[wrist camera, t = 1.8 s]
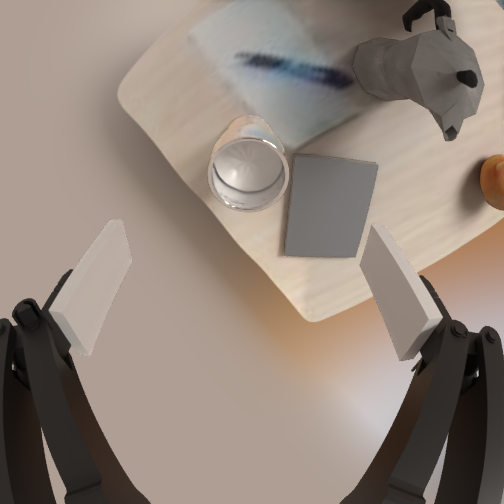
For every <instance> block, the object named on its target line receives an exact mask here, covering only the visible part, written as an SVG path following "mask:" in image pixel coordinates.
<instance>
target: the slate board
mask: <svg viewBox="0 0 504 504" xmlns="http://www.w3.org/2000/svg"><path fill="white" fill-rule="evenodd" d="M377 170H378V165H377V164H376V163H374V162H368V161H360V160H353V159H345V158H336V157H326V156H316V155H304V154H294V159H293V170H292V181H291V191H290V200H289V210H288V219H287V228H286V237H285V245H284V256H308V257H356V254H357V250H358V247H359V243H360V240H361V236H362V233H363V229H364V225H365V221H366V218H367V214H368V210H369V206H370V201H371V197H372V193H373V189H374V184H375V180H376V175H377Z"/></svg>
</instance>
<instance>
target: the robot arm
mask: <svg viewBox="0 0 504 504" xmlns="http://www.w3.org/2000/svg"><path fill="white" fill-rule="evenodd" d="M496 2H497V3H498V4H499V5H500V7H501V8H502V9H504V0H496ZM131 263H132V256H131V253H130V249H129V245H128V241H127V236H126V232H125V228H124V224H123V219H112V220H110V221H109V222H108V223H107V224H106V226H105V227H104V228H103V229H102V231H101V232H100V233H99V235H98V236H97V237H96V239H95V240H94V241H93V243H92V244H91V246H90V247H89V248H88V250H87V251H86V253H85V254H84V255H83V257H82V258H81V260H80V261H79V263H78V264H77V266H76V267H75V269H74V270H72V269H70V270H69V271H68V272H67V273H66V274H64V275H63V276H62V278H61V279H60V281H59V282H58V285H57V286H56V287H55V289H54V292H52V293H51V295H50V297H49V298H48V300H47V302H46V303H45V305H44V307H43V308H42V310H40V308H39V306H38V305H37V303H36V301H35V300H33V299H31V298H28V299H24V300H22V301H21V302H20V303H18V304H17V306H15V308H14V310H13V312H12V317H13V318H14V320H15V321H16V323H17V324H18V325H17V326H13V325H12V324H11V323H10V321H9V320H8V319H6V318H3V319H0V504H56V501H55V497H54V494H53V490H52V486H51V482H50V478H49V473H48V469H47V464H46V459H45V453H44V447H43V440H42V432H41V427H42V430H43V433H44V436H45V439H46V442H47V445H48V448H49V450H50V453H51V455H52V458H53V460H54V462H55V465H56V467H57V470H58V472H59V474H60V476H61V478H62V480H63V483H64V485H65V487H66V490H67V493H66V495H65V497H64V499H65V504H151V503H150V502H149V501H148V499H147V498H146V497H145V496H144V495H143V494H141V493H140V492H139V491H138V490H137V489H136V488H135V487H134V485H133V484H132V482H131V481H130V479H129V478H128V476H127V474H126V473H125V471H124V470H123V468H122V466H121V465H120V463H119V461H118V460H117V458H116V456H115V455H114V453H113V451H112V449H111V448H110V446H109V444H108V442H107V440H106V438H105V436H104V434H103V432H102V430H101V428H100V426H99V424H98V422H97V420H96V418H95V416H94V413H93V412H92V409H91V407H90V404H89V402H88V400H87V397H86V395H85V393H84V390H83V387H82V385H81V382H80V380H79V377H78V374H77V371H76V369H75V366H74V363H73V360H72V357H71V355H70V353H69V352H68V351H69V349H70V347H71V346H72V347H73V349H74V350H75V352H76V353H78V354H82V355H87V356H91V353H92V351H93V348H94V345H95V343H96V340H97V338H98V335H99V333H100V331H101V328H102V326H103V323H104V321H105V319H106V316H107V314H108V312H109V309H110V307H111V305H112V303H113V301H114V299H115V296H116V294H117V292H118V290H119V288H120V286H121V284H122V281H123V280H124V277H125V275H126V273H127V271H128V269H129V267H130V265H131ZM360 267H361V269H362V271H363V274H364V276H365V278H366V280H367V282H368V284H369V287H370V289H371V291H372V293H373V296H374V298H375V300H376V303H377V305H378V307H379V309H380V312H381V314H382V317H383V319H384V321H385V324H386V326H387V329H388V331H389V334H390V337H391V339H392V342H393V345H394V347H395V350H396V352H397V355H398V358H399V361H404V360H410V359H413V358H414V357H415V356H416V355H417V353H418V352H419V351H420V353H421V355H422V358H421V359H420V360H419V362H418V363H417V364H416V365H415V366H414V367H413V369H412V370H411V371H414V370H415V369H416V371H415V373H414V376H413V379H412V381H411V384H410V386H409V389H408V391H407V394H406V396H405V398H404V401H403V403H402V405H401V407H400V410H399V412H398V414H397V416H396V418H395V420H394V422H393V424H392V426H391V428H390V430H389V432H388V434H387V436H386V438H385V440H384V442H383V443H382V445H381V447H380V449H379V451H378V452H377V454H376V456H375V458H374V459H373V461H372V463H371V464H370V466H369V468H368V469H367V471H366V472H365V474H364V475H363V477H362V479H361V480H360V482H359V483H358V485H357V486H356V487H355V489H354V490H353V491H352V492H351V493H350V494H349V495H348V496H346V497H345V498H344V499H343V500H342V501H341V502H340V504H425V502H426V500H425V499H424V497H423V493H424V490H425V488H426V486H427V484H428V482H429V480H430V477H431V475H432V473H433V471H434V468H435V466H436V464H437V461H438V459H439V456H440V454H441V451H442V449H443V446H444V443H445V441H446V438H447V435H448V442H447V448H446V454H445V460H444V465H443V470H442V475H441V480H440V484H439V488H438V492H437V496H436V499H435V503H434V504H500V503H501V499H502V493H503V488H504V355H503V349H502V344H501V339H500V337H499V334H498V333H497V331H495V329H493V328H492V327H490V326H485V327H483V328H482V329H481V331H480V332H479V333H473V332H468V329H467V328H466V327H465V325H464V324H462V323H461V322H459V321H457V320H452V319H451V317H450V315H449V313H448V312H447V310H446V308H445V306H444V305H443V303H442V301H441V300H440V298H439V296H438V295H437V293H436V292H435V290H434V288H433V286H432V285H431V283H430V282H429V281H428V280H427V279H426V278H425V277H424V276H422V275H420V276H418V274H417V272H416V271H415V269H414V268H413V266H412V265H411V263H410V262H409V260H408V259H407V257H406V256H405V254H404V253H403V251H402V250H401V248H400V247H399V245H398V244H397V243H396V241H395V240H394V238H393V237H392V235H391V234H390V233H389V231H388V230H387V229H386V227H385V226H384V225H375V224H372V226H371V229H370V233H369V236H368V240H367V243H366V246H365V250H364V253H363V256H362V259H361V263H360ZM12 364H13V365H14V370H12ZM478 370H479V376H478V377H477V373H476V372H477V371H478ZM448 432H449V433H448Z"/></svg>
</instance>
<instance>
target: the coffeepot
mask: <svg viewBox="0 0 504 504" xmlns="http://www.w3.org/2000/svg"><path fill="white" fill-rule="evenodd" d="M432 9H434V13H435V24H436V30H434V31H430V32H425V33H421V34H419V35H416V36H414V37H411V38H409V39H407V40H404V41H398V40H392V39H385V38H378V39H375V40H371V41H368V42H365V43H362V44H359V46H358V49H357V52H356V54H355V57H354V62H353V65H352V68H353V70H354V72H355V74H356V77H357V79H358V81H359V82H360V84H361V86H362V88H363V90H364V91H366V92H368V93H370V94H372V95H374V96H377V97H379V98H381V99H383V100H385V101H392V100H405V99H411V100H412V101H414V102H416V103H418V104H420V105H421V106H423V107H425V108H427V109H428V110H429V111H430V112H431V114H432V115H433V117H434V119H435V120H436V122H437V123H438V125H439V127H440V128H441V130H442V132H443V136H444V139H445V141H452V140H454V139H456V137H457V134H459V131H460V128H461V126H462V123H463V120H464V119H465V118H468V117H470V116H472V115H475V114H476V112H477V109H478V106H479V102H480V99H481V95H482V92H483V88H484V81H483V78H482V74H481V71H480V68H479V65H478V61H477V58H476V56H475V53H474V50H473V49H472V48H471V47H470V46H468V45H467V44H466V43H465V42H464V41H463V40H461V39H460V38H459V37H458V36H456V35H457V34H456V28H455V22H454V20H452V19H451V9H450V6H449V5H448V4H447V3H446V2H445V1H444V0H418V1H417V2H416V3H415V4H414V5H413V6H412V7H411V8H410V9H409V10H408V11H407V12H406V13H405V14H404V15H403V17H402V19H403V24H404V27H405V30H406V31H409V32H411V27H412V21H413V20H417V19H419V18H421V17H422V16H423V14H424V13H427V12H429V11H431V10H432Z"/></svg>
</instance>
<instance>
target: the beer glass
mask: <svg viewBox="0 0 504 504" xmlns="http://www.w3.org/2000/svg"><path fill="white" fill-rule="evenodd" d="M207 178H208V183H209V187H210V189H211V191H212V193H213V194H214V196H215V197H216V198H217V199H218V200H219V201H220V202H221V203H222V204H223V205H225V206H227V207H228V208H231V209H233V210H236V211H240V212H256V211H261V210H264V209H266V208H268V207H270V206H272V205H273V204H275V203H276V202H277V201H278V200H279V199H280V198H281V197H282V195H283V194H284V192H285V190H286V188H287V186H288V182H289V167H288V163H287V157H286V153H285V150H284V147H283V145H282V143H281V142H280V140H279V139H278V137H277V136H276V135H275V134H274V133H273V132H272V130H271V128H270V126H269V125H268V123H267V122H266V121H265V120H263V119H262V118H260V117H257V116H253V115H245V116H241V117H239V118H237V119H235V120H234V121H233V122H232V123H231V124H230V125H229V127H228V128H227V131H226V132H224V133H223V134H222V135H221V137H220V138H219V139H218V141H217V142H216V144H215V146H214V148H213V151H212V154H211V157H210V162H209V165H208V171H207Z"/></svg>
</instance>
